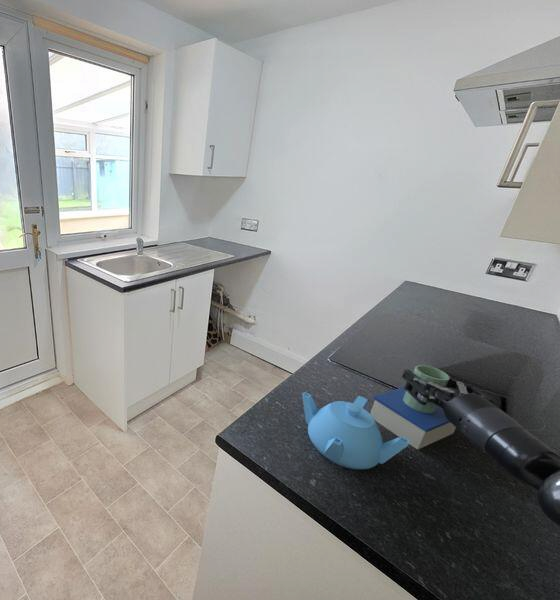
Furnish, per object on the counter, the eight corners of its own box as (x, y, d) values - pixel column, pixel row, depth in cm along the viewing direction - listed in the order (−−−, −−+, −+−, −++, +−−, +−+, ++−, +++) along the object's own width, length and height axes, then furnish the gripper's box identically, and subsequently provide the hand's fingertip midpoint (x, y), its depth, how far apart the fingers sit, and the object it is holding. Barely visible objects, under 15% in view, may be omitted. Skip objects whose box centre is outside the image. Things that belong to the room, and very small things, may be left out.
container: (406, 402, 84) (414, 383, 81) (458, 432, 74) (469, 412, 72) (367, 416, 77) (374, 396, 75) (418, 451, 68) (427, 429, 65)
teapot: (401, 480, 60) (420, 437, 57) (324, 477, 60) (338, 433, 56) (355, 423, 75) (368, 386, 71) (293, 421, 74) (302, 383, 71)
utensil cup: (412, 394, 77) (425, 363, 74) (440, 410, 72) (455, 377, 69) (397, 399, 75) (409, 367, 71) (425, 416, 69) (439, 382, 66)
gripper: (536, 412, 56) (461, 363, 71) (451, 404, 57) (395, 357, 72) (517, 444, 58) (448, 390, 74) (436, 436, 59) (386, 384, 74)
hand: (422, 374), depth 73 cm, fingers open, 7 cm apart
